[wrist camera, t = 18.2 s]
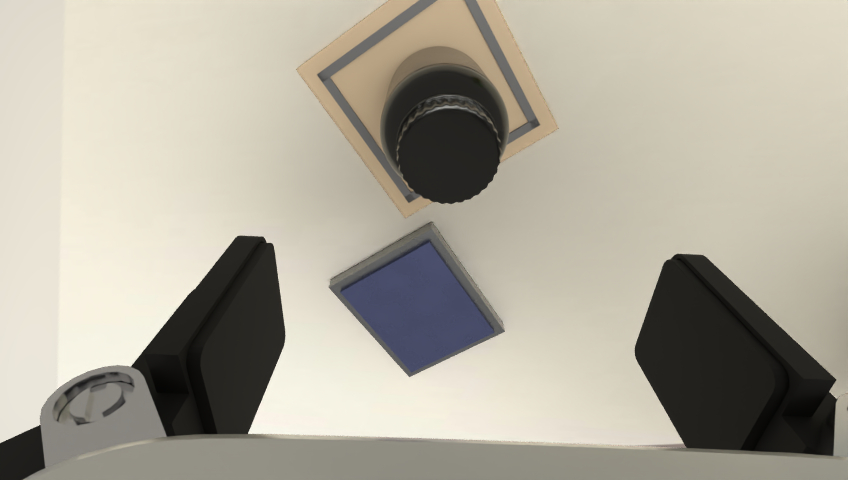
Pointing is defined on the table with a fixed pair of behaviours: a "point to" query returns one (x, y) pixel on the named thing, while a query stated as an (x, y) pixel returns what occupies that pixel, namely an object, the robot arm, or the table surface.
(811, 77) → the table surface
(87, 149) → the table surface
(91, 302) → the table surface
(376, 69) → the card
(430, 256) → the ink pad
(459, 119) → the supplement bottle
